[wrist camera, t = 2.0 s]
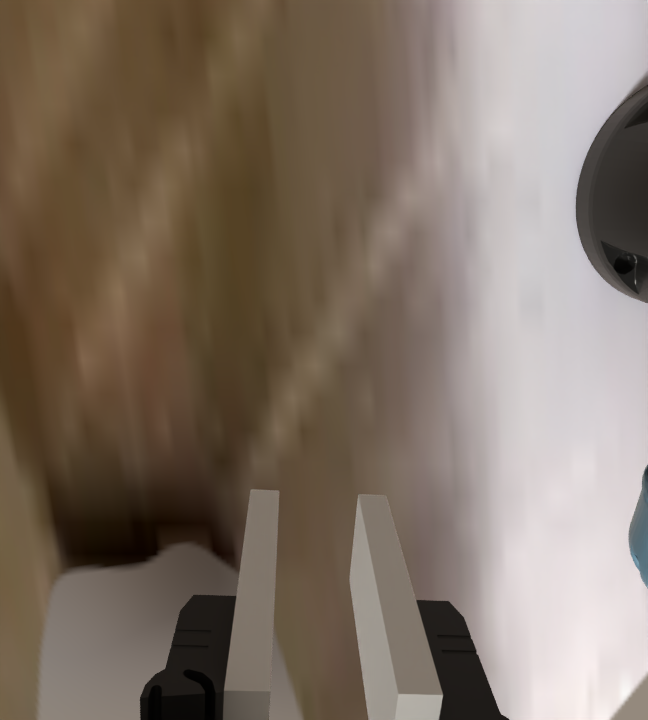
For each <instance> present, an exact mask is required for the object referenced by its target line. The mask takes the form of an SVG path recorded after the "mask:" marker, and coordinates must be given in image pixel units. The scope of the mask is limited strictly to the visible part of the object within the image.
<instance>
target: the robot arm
mask: <svg viewBox="0 0 648 720" xmlns="http://www.w3.org/2000/svg"><path fill="white" fill-rule="evenodd" d="M576 220H577V227H578V232H579V236H580V240H581V243H582V246H583V248H584V251H585V253H586V255H587V257H588V259H589V260H590V262H591V264H592V265H593V267H594V268H595V269H596V271H597V272H598V273H599V274H600V275H601V277H602V278H603V279H604V280H605V281H606V282H608V283H609V284H610V285H611V286H613V287H614V288H615V289H617V290H618V291H620V292H622V293H624V294H625V295H628V296H630V297H632V298H635V299H637V300H640V301H643V302H645V303H648V85H647V86H646V87H644V88H643V89H641V90H640V91H638V92H637V93H636V94H634V95H633V96H632V97H630V98H629V99H628V100H627V101H626V102H625V103H623V104H622V105H621V106H620V107H619V108H618V109H617V110H616V111H615V113H614V114H613V115H612V116H611V117H610V118H609V119H608V121H607V122H606V123H605V125H604V126H603V127H602V129H601V130H600V132H599V133H598V135H597V137H596V138H595V140H594V142H593V144H592V146H591V147H590V149H589V152H588V154H587V156H586V159H585V161H584V164H583V167H582V170H581V174H580V178H579V182H578V188H577V196H576ZM278 508H279V491H275V490H252V489H251V492H250V499H249V507H248V514H247V522H246V529H245V537H244V544H243V552H242V559H241V567H240V574H239V582H238V590H237V596H215V595H193V596H192V598H191V599H190V600H189V601H188V602H187V604H186V605H185V606H184V607H183V608H182V609H181V611H180V614H179V618H178V621H177V625H176V629H175V633H174V637H173V641H172V645H171V649H170V653H169V656H168V661H167V665H166V668H165V669H164V670H162V671H161V672H159V673H157V674H155V675H154V676H153V678H151V680H150V681H149V682H148V683H147V684H146V685H145V687H144V690H143V692H142V694H141V697H140V713H141V714H140V715H141V717H140V718H141V720H269V705H270V689H271V666H272V644H273V621H274V599H275V576H276V553H277V531H278ZM629 548H630V552H631V556H632V558H633V561H634V563H635V565H636V567H637V568H638V570H639V571H640V575H641V578H642V581H643V582H644V584H645V585H646V587H647V588H648V465H647V466H646V468H645V471H644V474H643V477H642V491H641V494H640V497H639V500H638V503H637V506H636V509H635V512H634V515H633V518H632V521H631V524H630V528H629ZM350 587H351V594H352V602H353V609H354V616H355V623H356V631H357V638H358V645H359V653H360V660H361V667H362V675H363V682H364V689H365V697H366V704H367V711H368V719H369V720H509V719H508V718H506V717H505V716H503V715H501V713H500V711H499V709H498V706H497V704H496V701H495V698H494V696H493V693H492V691H491V688H490V685H489V683H488V680H487V677H486V675H485V672H484V669H483V667H482V664H481V662H480V659H479V656H478V655H477V654H476V648H475V646H474V643H473V641H472V639H471V635H470V633H469V630H468V627H467V625H466V622H465V620H464V617H463V616H462V615H461V614H460V613H459V612H458V611H457V610H456V609H455V607H454V606H453V605H452V604H451V603H450V602H449V601H427V600H416V598H415V595H414V591H413V588H412V584H411V581H410V577H409V574H408V570H407V567H406V563H405V560H404V556H403V553H402V549H401V546H400V542H399V539H398V535H397V532H396V528H395V525H394V521H393V518H392V514H391V511H390V507H389V504H388V500H387V497H386V495H368V494H358V502H357V512H356V522H355V531H354V541H353V551H352V560H351V570H350Z"/></svg>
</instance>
